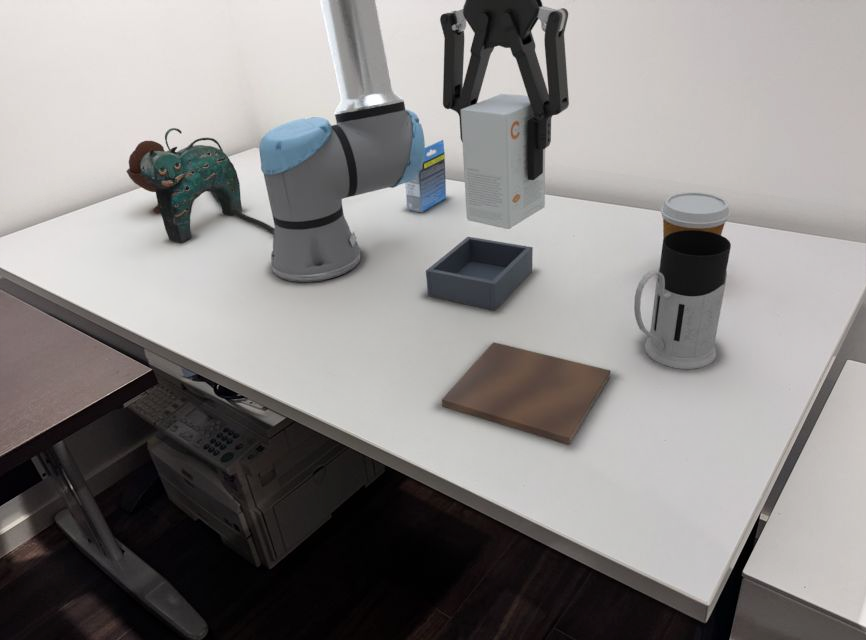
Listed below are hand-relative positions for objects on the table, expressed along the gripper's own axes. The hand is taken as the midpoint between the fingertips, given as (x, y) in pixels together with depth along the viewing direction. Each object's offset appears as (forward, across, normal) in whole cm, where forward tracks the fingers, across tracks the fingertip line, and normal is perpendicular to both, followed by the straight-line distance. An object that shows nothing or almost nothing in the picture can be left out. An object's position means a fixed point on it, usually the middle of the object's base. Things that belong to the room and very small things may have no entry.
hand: (505, 172), depth 78 cm
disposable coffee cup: (+24, +17, +28) cm, 40 cm away
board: (+24, +7, -9) cm, 26 cm away
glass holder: (+24, +20, +5) cm, 31 cm away
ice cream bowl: (+23, -90, +20) cm, 95 cm away
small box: (+5, 0, 0) cm, 5 cm away
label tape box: (+23, -37, +41) cm, 60 cm away
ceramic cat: (+23, -74, +16) cm, 79 cm away
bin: (+23, -11, +14) cm, 29 cm away
